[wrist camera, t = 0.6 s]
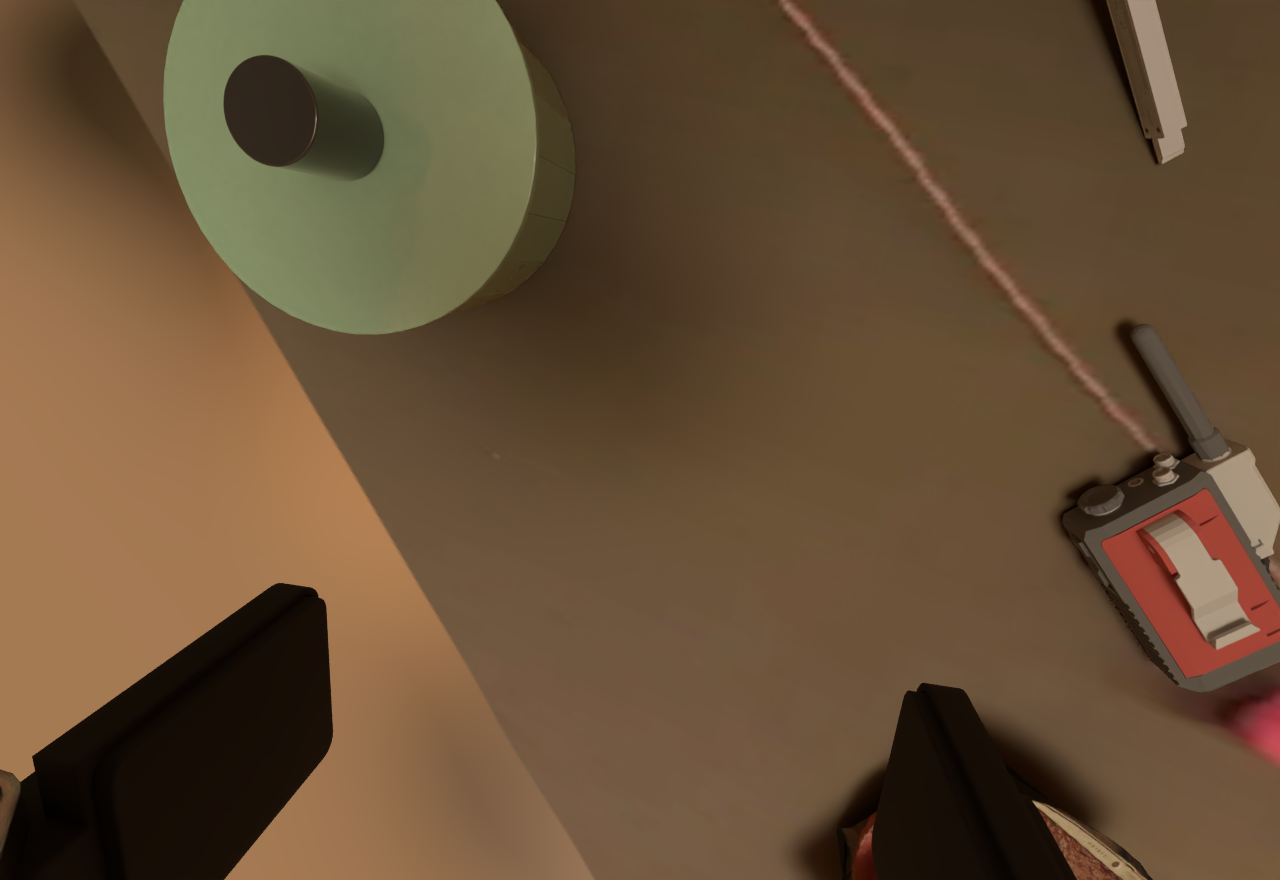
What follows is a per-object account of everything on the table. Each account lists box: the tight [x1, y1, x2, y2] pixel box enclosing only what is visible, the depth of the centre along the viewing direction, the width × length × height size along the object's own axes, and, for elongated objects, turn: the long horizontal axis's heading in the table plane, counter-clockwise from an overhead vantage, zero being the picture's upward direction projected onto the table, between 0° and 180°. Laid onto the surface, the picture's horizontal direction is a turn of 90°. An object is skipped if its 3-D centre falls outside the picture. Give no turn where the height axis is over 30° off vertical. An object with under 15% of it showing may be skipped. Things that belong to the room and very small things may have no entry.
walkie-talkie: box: [1062, 324, 1280, 692], centre depth 33 cm, size 9×4×20 cm
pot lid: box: [163, 0, 540, 335], centre depth 26 cm, size 17×17×6 cm
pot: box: [453, 30, 576, 312], centre depth 32 cm, size 16×16×8 cm
